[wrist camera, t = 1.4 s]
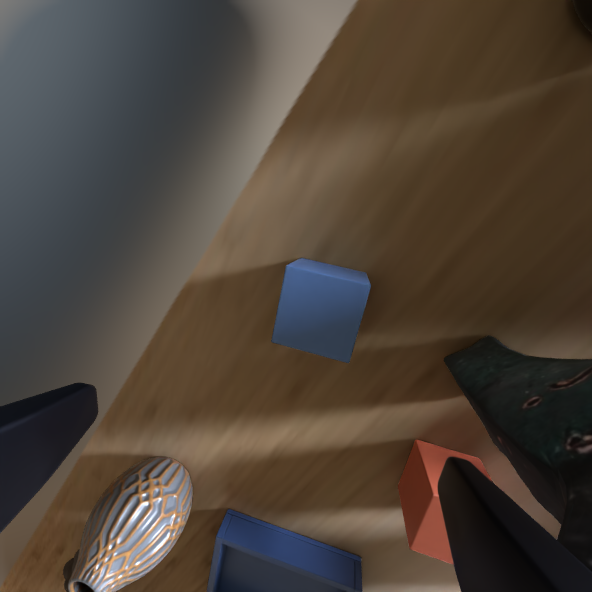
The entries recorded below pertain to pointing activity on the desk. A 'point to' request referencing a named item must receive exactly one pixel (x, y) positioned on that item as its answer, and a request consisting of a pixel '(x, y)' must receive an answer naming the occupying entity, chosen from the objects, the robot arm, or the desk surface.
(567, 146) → the desk surface
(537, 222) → the desk surface
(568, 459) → the turquoise patterned animal figure
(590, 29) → the supplement bottle
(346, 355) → the blue block
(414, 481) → the rust block
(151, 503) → the vase
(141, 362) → the desk surface
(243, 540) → the blue tray
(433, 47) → the desk surface
